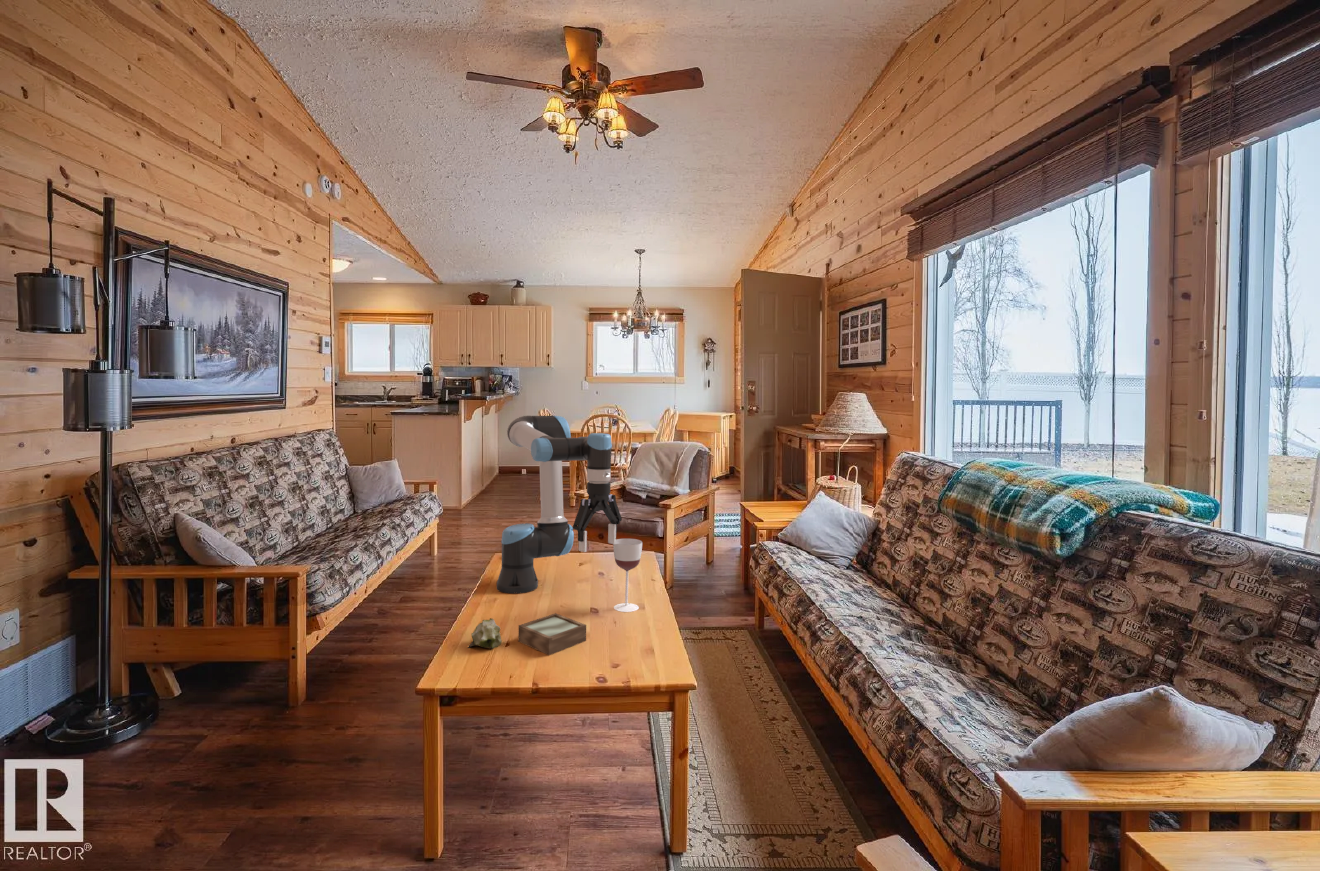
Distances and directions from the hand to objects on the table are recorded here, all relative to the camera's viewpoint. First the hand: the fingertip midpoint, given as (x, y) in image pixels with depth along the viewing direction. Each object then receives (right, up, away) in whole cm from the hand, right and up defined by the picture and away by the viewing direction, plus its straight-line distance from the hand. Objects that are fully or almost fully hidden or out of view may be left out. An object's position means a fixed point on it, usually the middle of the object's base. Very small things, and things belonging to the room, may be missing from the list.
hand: (597, 547), depth 195 cm
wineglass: (+8, -24, +14) cm, 29 cm away
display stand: (-12, -25, -16) cm, 32 cm away
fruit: (-30, -25, -20) cm, 44 cm away
